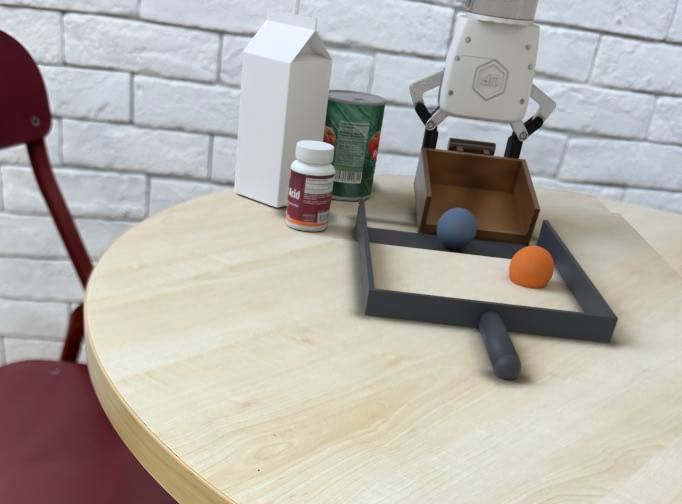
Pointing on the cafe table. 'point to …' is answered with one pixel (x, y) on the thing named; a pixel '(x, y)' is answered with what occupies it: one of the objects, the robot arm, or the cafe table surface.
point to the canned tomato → (353, 141)
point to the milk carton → (279, 103)
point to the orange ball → (531, 267)
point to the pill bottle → (310, 186)
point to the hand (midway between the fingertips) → (466, 168)
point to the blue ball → (456, 228)
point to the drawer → (476, 191)
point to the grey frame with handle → (483, 314)
